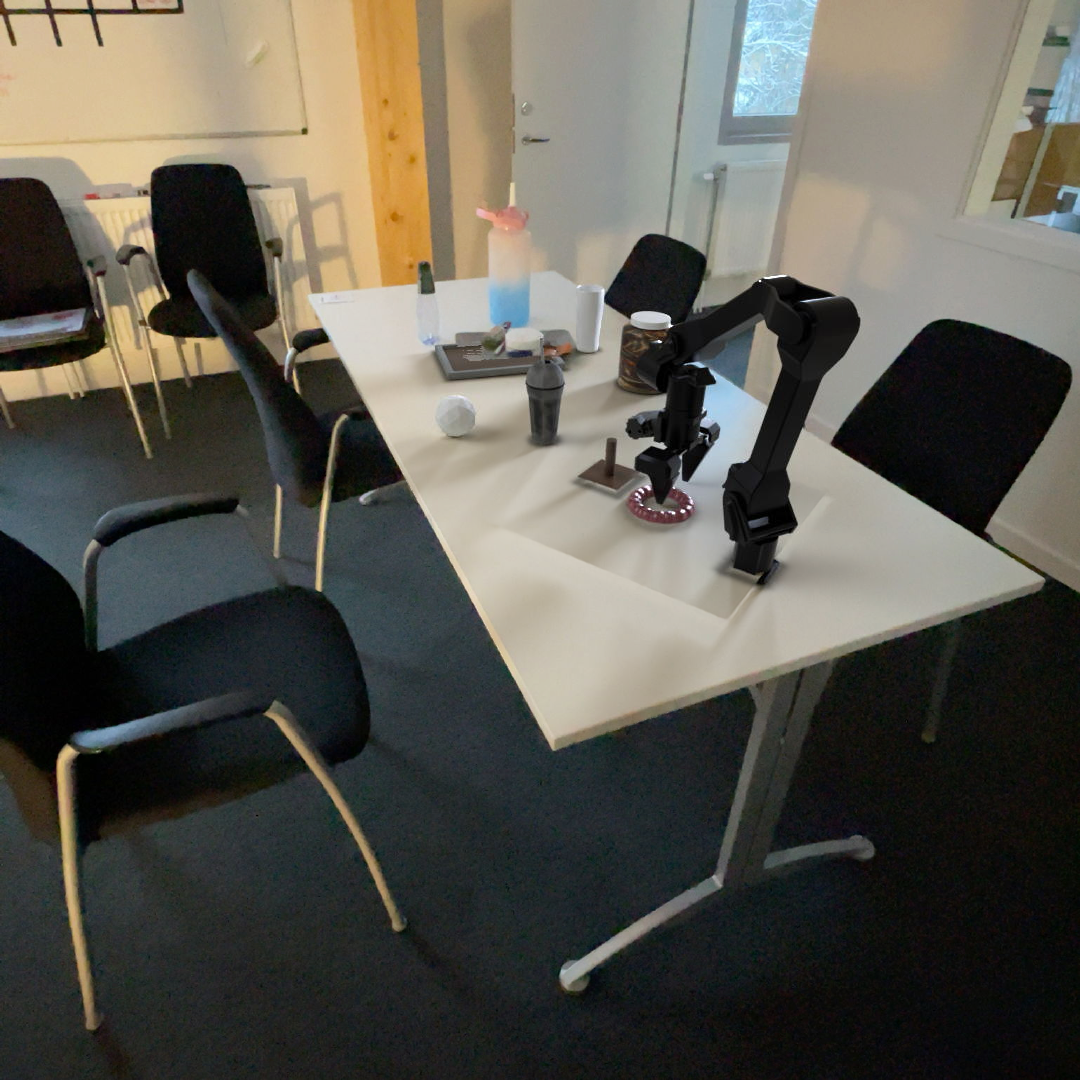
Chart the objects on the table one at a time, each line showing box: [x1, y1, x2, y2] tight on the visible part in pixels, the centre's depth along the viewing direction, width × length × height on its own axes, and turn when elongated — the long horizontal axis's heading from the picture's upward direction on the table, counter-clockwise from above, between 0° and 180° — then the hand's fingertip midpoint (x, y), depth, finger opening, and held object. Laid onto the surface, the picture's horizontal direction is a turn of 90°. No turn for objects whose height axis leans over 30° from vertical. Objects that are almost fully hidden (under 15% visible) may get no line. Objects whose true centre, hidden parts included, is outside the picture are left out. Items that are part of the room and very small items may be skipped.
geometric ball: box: [434, 394, 477, 438], centre depth 141 cm, size 8×8×8 cm
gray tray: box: [434, 341, 566, 381], centre depth 176 cm, size 19×2×30 cm
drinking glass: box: [574, 283, 605, 354], centre depth 179 cm, size 7×7×15 cm
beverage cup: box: [524, 338, 566, 446], centre depth 136 cm, size 7×7×20 cm
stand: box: [577, 437, 641, 491], centre depth 127 cm, size 8×8×8 cm
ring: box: [626, 484, 696, 525], centre depth 120 cm, size 11×11×2 cm
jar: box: [617, 310, 674, 395], centre depth 161 cm, size 12×12×15 cm
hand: (672, 492), depth 123 cm, fingers open, 9 cm apart
